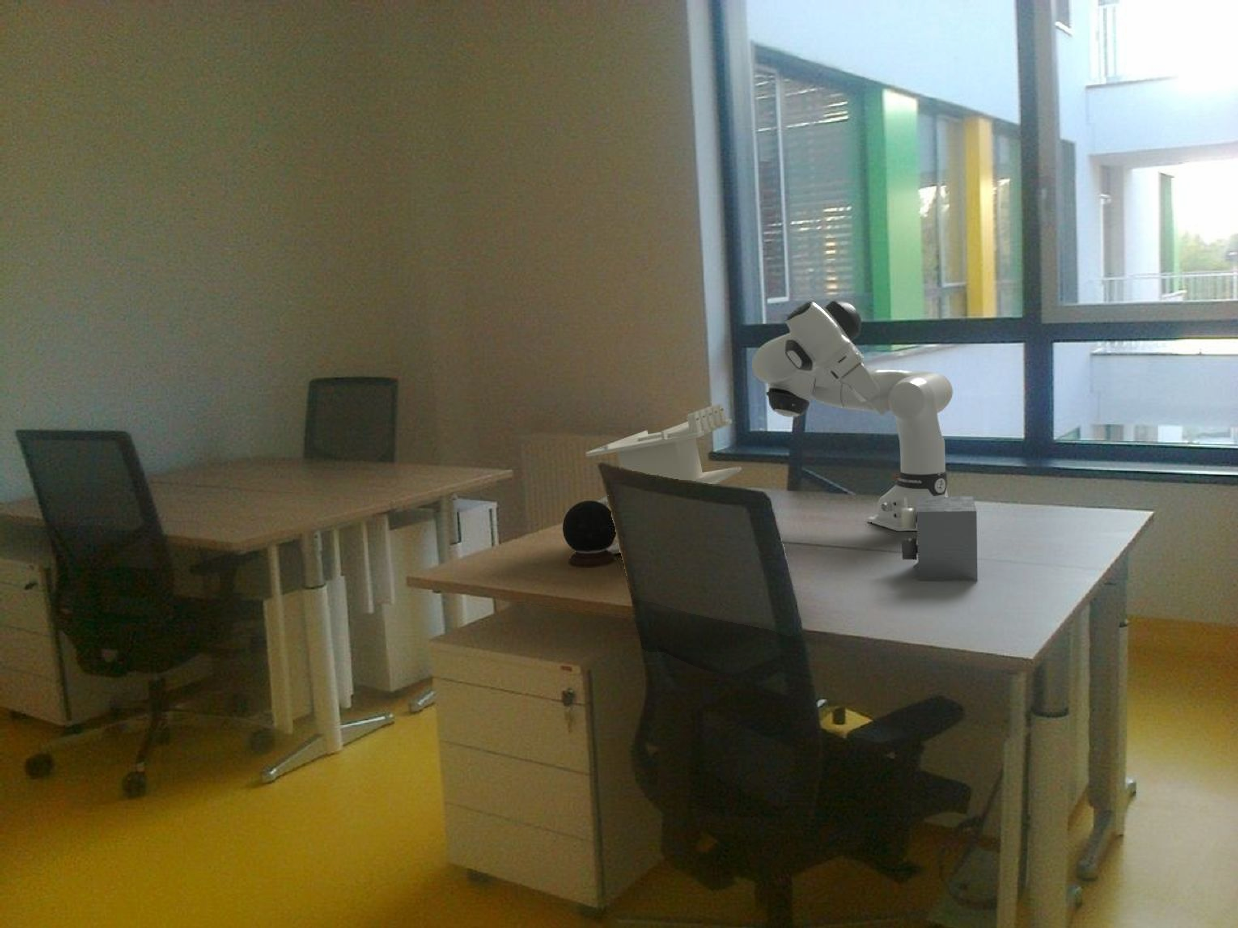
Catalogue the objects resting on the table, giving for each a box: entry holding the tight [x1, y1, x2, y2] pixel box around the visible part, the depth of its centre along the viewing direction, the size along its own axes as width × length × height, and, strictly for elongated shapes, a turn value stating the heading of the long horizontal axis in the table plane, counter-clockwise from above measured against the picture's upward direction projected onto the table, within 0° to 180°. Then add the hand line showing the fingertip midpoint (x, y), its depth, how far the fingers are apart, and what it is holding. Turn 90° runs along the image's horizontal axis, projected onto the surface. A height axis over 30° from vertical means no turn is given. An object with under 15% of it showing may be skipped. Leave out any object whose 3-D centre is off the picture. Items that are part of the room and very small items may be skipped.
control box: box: [916, 495, 978, 582], centre depth 251 cm, size 12×16×15 cm
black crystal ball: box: [562, 500, 617, 568], centre depth 281 cm, size 13×13×15 cm
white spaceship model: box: [585, 403, 743, 555], centre depth 292 cm, size 26×31×35 cm
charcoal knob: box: [901, 537, 918, 561], centre depth 249 cm, size 10×5×5 cm, turn 76°
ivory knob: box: [902, 508, 917, 529], centre depth 256 cm, size 10×5×5 cm, turn 76°
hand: (884, 413), depth 254 cm, fingers closed
